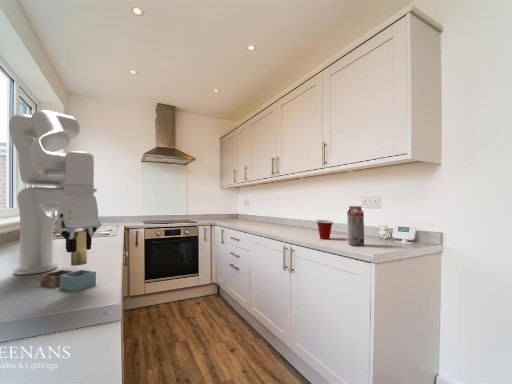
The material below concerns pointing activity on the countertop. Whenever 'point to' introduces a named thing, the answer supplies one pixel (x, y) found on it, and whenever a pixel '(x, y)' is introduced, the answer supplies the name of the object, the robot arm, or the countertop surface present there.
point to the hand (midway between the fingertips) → (79, 250)
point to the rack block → (77, 280)
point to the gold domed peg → (80, 249)
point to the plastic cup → (324, 228)
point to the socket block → (53, 278)
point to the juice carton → (355, 226)
